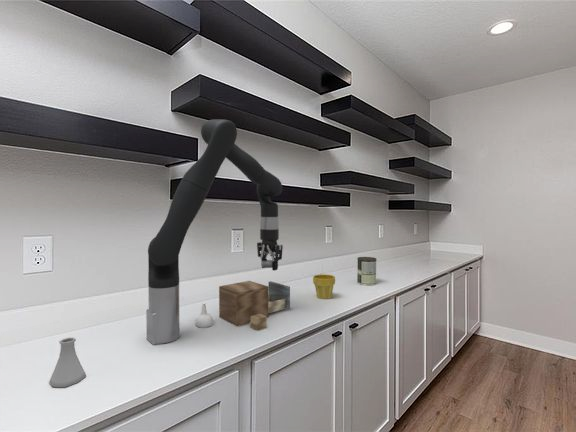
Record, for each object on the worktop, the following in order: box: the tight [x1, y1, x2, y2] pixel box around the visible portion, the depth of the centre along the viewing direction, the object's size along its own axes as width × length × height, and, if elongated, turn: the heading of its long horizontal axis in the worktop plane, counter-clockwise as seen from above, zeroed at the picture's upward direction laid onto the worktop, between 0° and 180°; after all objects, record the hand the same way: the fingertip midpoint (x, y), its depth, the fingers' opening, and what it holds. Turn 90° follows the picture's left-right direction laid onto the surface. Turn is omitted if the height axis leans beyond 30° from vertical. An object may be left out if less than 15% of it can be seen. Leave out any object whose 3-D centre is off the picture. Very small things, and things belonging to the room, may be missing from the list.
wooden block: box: [250, 314, 268, 332], centre depth 112 cm, size 4×4×4 cm
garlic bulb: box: [194, 303, 214, 329], centre depth 114 cm, size 6×6×8 cm
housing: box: [218, 280, 269, 327], centre depth 122 cm, size 14×12×12 cm
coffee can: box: [356, 256, 377, 287], centre depth 177 cm, size 10×10×14 cm
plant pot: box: [312, 273, 336, 300], centre depth 150 cm, size 10×10×10 cm
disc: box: [261, 259, 273, 269], centre depth 130 cm, size 6×6×2 cm
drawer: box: [267, 280, 291, 314], centre depth 130 cm, size 15×12×9 cm
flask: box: [49, 336, 87, 388], centre depth 78 cm, size 7×7×10 cm
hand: (269, 268), depth 130 cm, fingers closed on disc, 6 cm apart
